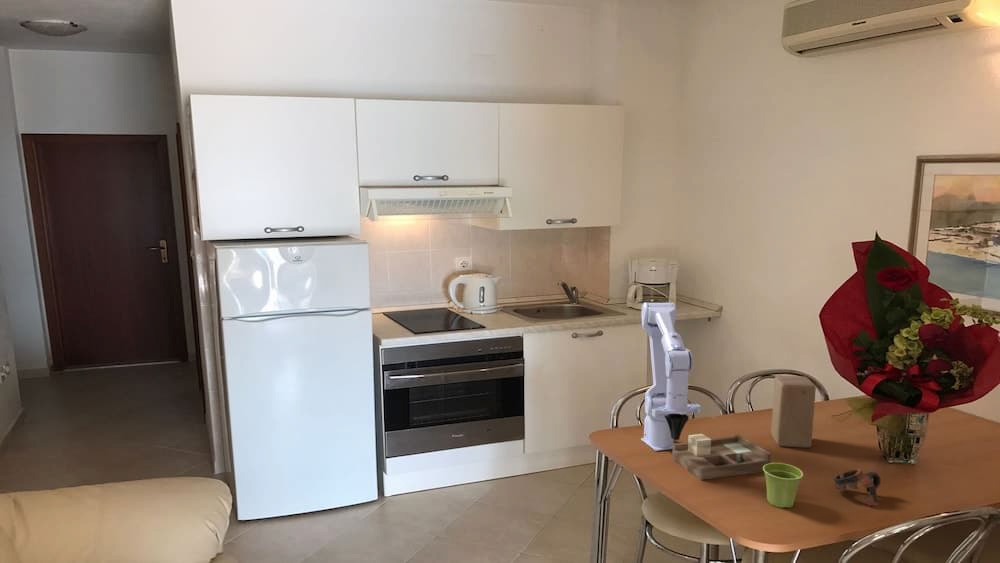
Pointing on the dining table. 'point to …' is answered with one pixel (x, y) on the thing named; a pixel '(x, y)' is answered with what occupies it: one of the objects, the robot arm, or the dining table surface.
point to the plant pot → (782, 483)
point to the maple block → (699, 444)
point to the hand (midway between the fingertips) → (675, 438)
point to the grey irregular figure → (865, 479)
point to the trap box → (723, 458)
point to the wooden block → (793, 411)
